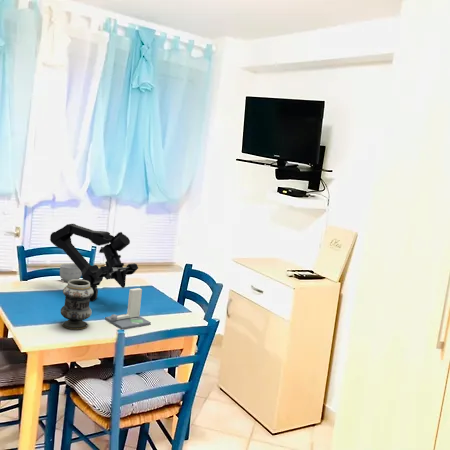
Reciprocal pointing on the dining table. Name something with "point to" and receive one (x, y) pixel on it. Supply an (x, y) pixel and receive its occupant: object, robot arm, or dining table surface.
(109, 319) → the dial board
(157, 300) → the dining table surface
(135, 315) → the dial crank handle
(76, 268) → the teacup
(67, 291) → the grey ornate vase
